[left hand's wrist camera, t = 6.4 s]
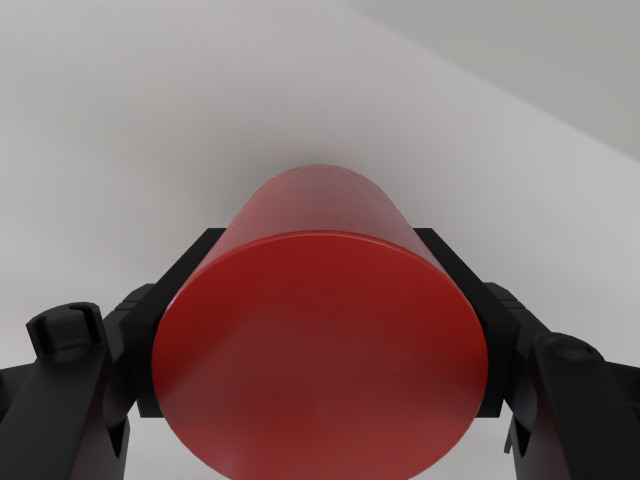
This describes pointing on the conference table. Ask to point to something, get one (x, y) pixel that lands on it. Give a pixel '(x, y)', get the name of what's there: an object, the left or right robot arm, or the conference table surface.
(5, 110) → the conference table surface
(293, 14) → the conference table surface
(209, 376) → the canister
